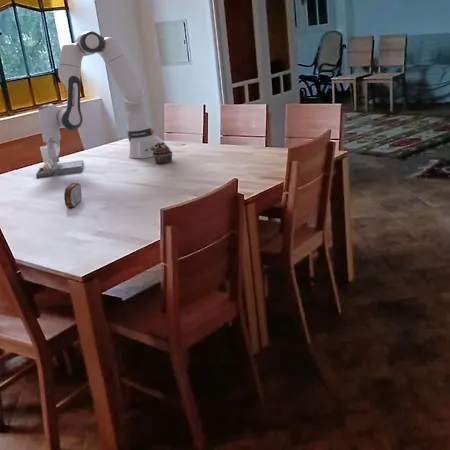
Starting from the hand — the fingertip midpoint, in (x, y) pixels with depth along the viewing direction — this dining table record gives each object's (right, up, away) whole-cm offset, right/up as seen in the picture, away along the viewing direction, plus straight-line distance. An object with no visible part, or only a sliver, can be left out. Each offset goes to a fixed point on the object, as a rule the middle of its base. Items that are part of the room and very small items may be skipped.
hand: (56, 163), depth 327 cm
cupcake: (+55, 0, -6) cm, 56 cm away
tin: (+25, -23, -66) cm, 74 cm away
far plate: (+6, -3, +2) cm, 7 cm away
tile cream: (-5, -1, +4) cm, 6 cm away
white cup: (-9, +2, +24) cm, 26 cm away
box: (-5, -5, +1) cm, 7 cm away
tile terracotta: (-3, -3, -4) cm, 6 cm away
